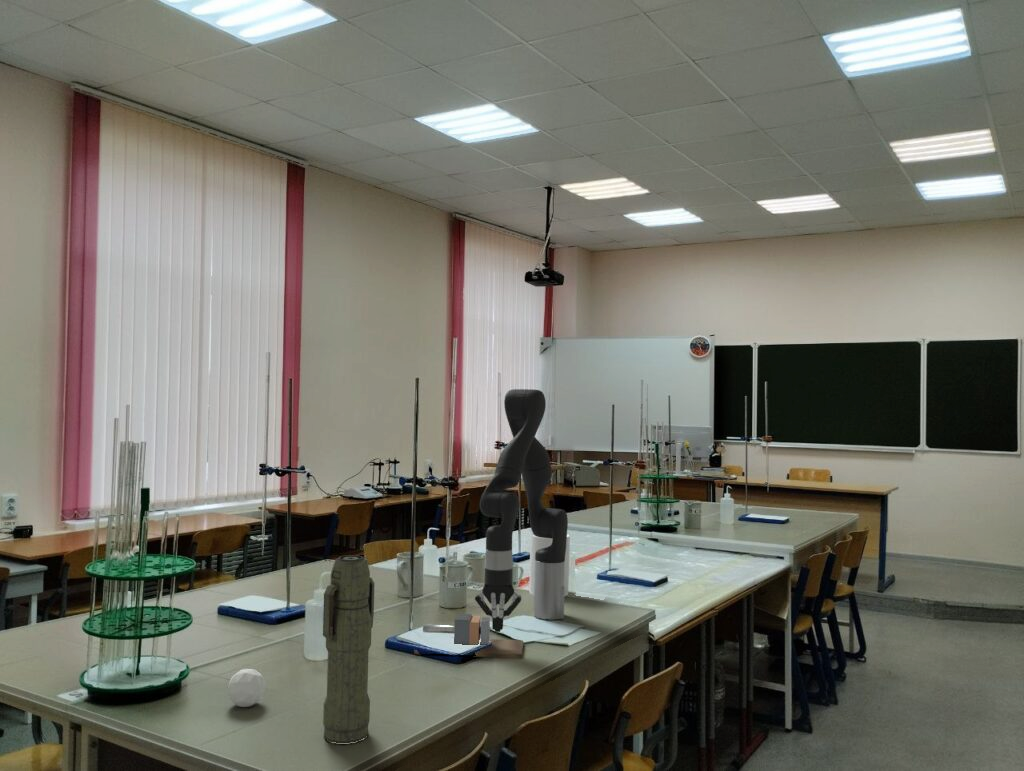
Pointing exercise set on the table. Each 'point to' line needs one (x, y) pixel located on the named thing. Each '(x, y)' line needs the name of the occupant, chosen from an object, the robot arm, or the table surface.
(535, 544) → the canister
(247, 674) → the geometric ball
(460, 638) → the grey upright block
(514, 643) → the base plank
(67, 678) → the table surface
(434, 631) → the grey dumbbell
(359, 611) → the thermos
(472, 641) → the block
